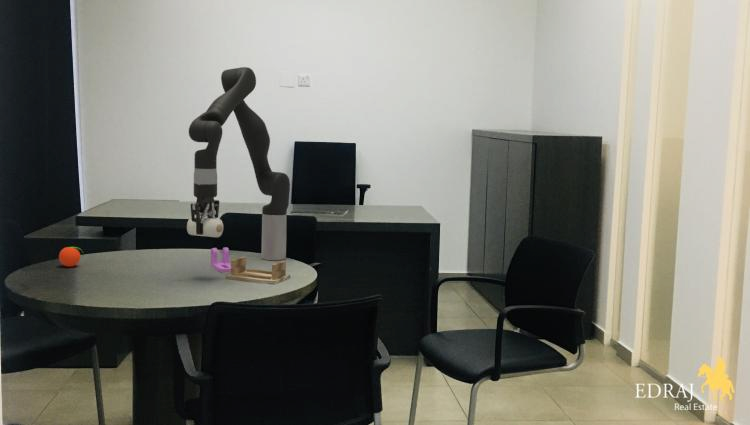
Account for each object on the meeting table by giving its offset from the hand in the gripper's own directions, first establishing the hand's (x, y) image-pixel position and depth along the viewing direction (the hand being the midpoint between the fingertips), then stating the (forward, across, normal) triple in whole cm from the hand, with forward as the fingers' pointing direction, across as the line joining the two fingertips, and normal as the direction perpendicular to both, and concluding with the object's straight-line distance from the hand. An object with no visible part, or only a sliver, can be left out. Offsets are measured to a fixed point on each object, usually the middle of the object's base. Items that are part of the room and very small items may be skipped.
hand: (205, 232), depth 251 cm
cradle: (+15, -9, +15) cm, 23 cm away
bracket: (+16, -17, -3) cm, 23 cm away
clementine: (+15, +5, -50) cm, 53 cm away
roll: (+1, 0, 0) cm, 1 cm away
